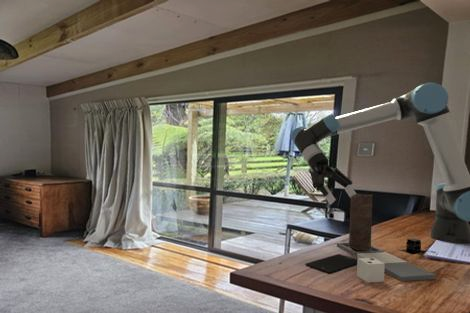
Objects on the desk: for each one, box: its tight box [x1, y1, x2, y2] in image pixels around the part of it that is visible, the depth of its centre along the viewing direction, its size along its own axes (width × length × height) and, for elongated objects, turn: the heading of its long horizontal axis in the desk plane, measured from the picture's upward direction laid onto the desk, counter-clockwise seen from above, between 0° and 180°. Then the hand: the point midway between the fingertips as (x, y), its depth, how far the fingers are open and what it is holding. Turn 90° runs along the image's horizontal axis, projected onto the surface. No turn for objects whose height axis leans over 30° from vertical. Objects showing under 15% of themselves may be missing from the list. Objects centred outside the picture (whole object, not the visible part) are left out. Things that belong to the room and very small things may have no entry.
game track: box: [336, 241, 436, 282], centre depth 112 cm, size 11×34×1 cm, turn 13°
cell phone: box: [304, 253, 358, 275], centre depth 107 cm, size 9×18×1 cm, turn 130°
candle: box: [348, 193, 373, 252], centre depth 123 cm, size 8×7×20 cm
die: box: [356, 257, 385, 283], centre depth 96 cm, size 5×5×5 cm
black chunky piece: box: [398, 237, 427, 255], centre depth 125 cm, size 12×7×5 cm, turn 120°
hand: (345, 201), depth 127 cm, fingers open, 13 cm apart
